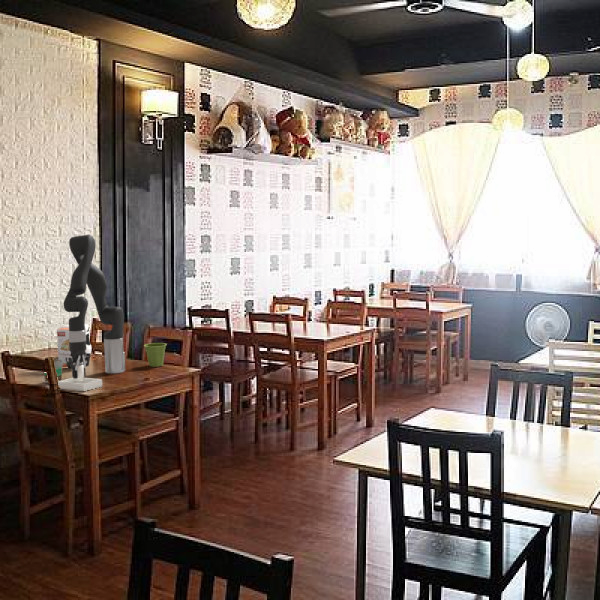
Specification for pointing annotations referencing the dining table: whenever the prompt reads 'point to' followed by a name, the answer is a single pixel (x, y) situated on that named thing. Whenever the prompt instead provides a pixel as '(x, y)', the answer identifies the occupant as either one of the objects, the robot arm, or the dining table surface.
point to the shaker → (80, 372)
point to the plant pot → (155, 353)
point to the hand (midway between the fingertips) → (79, 377)
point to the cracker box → (63, 345)
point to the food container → (58, 369)
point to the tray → (80, 384)
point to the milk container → (88, 345)
